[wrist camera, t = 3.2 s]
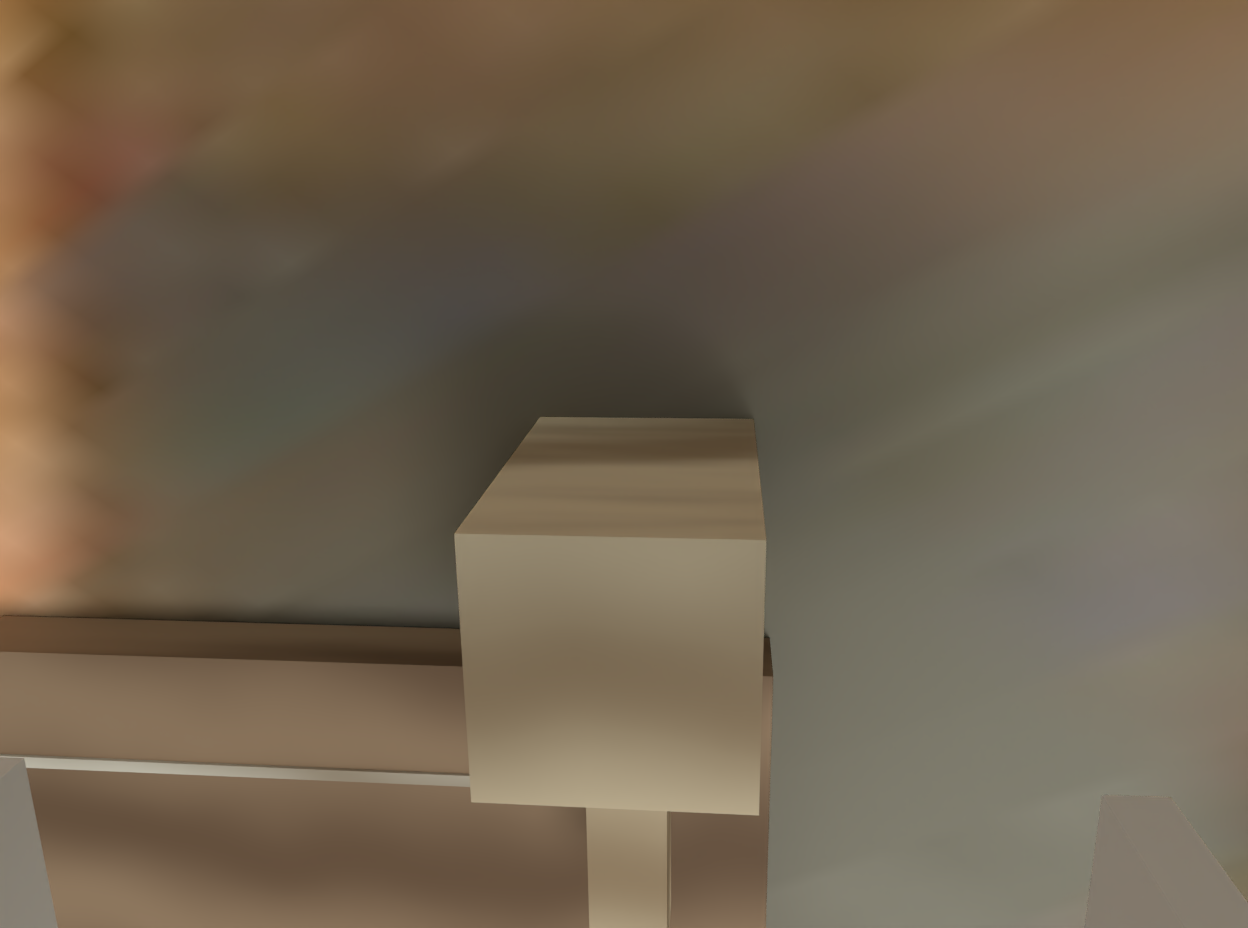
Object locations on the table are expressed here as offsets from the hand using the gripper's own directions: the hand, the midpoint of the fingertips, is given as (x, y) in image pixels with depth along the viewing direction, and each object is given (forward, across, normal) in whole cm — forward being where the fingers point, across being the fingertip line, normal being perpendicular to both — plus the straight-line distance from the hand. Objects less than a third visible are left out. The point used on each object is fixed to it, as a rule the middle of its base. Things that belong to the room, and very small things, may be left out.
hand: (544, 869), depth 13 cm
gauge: (+13, +1, -2) cm, 13 cm away
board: (+13, -6, -8) cm, 16 cm away
